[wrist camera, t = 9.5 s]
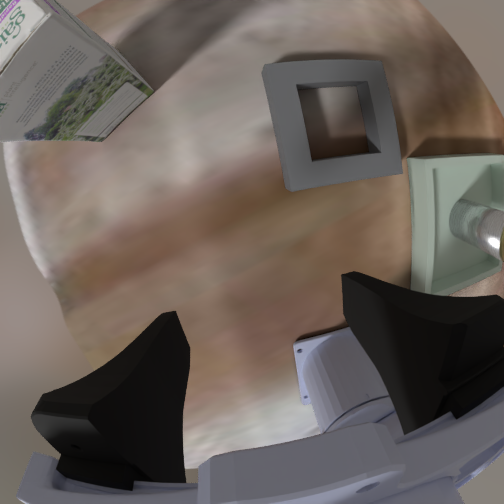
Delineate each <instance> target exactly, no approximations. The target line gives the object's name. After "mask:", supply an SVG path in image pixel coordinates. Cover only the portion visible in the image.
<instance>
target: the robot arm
mask: <svg viewBox="0 0 504 504" xmlns="http://www.w3.org/2000/svg"><path fill="white" fill-rule="evenodd" d="M341 277H342V293H343V314H344V316H345V318H346V321H347V323H348V325H349V327H348V328H344V329H341V330H337V331H334V332H330V333H326V334H323V335H319V336H315V337H311V338H307V339H303V340H299V341H296V342H295V343H294V344H293V348H294V354H295V360H296V367H297V374H298V380H299V387H300V394H301V401H302V404H303V405H307V404H312V407H313V410H314V413H315V416H316V420H317V423H318V426H319V429H320V432H321V434H319V435H315V436H311V437H307V438H303V439H299V440H294V441H290V442H285V443H280V444H275V445H270V446H264V447H258V448H252V449H245V450H237V451H232V452H228V453H224V454H219V455H215V456H213V457H211V458H209V459H208V460H207V461H205V462H204V463H203V464H201V465H200V466H199V472H198V483H186V477H185V467H184V455H183V409H184V401H185V395H186V389H187V382H188V376H189V369H190V346H189V344H188V341H187V339H186V336H185V334H184V331H183V329H182V326H181V324H180V321H179V318H178V316H177V313H176V311H171V312H166V313H162V314H161V315H160V316H158V317H157V318H156V319H155V320H154V321H153V322H152V323H151V324H150V325H149V326H148V327H147V328H146V329H145V330H144V331H143V332H142V333H141V334H140V335H139V336H138V337H137V338H136V339H135V340H134V341H133V342H132V343H130V344H129V345H128V346H127V347H126V348H125V349H124V350H123V351H122V352H120V353H119V354H118V355H117V356H115V357H114V358H113V359H112V360H110V361H109V362H107V363H106V364H105V365H103V366H102V367H100V368H98V369H97V370H95V371H94V372H92V373H90V374H89V375H87V376H85V377H83V378H81V379H80V380H77V381H75V382H73V383H71V384H69V385H67V386H64V387H62V388H59V389H56V390H53V391H51V392H48V393H45V394H43V395H42V396H41V398H40V400H39V402H38V403H37V405H36V407H35V409H34V411H33V412H32V415H31V419H32V422H33V424H34V426H35V428H36V429H37V431H38V432H39V433H40V434H41V435H42V436H43V437H44V438H45V439H46V440H47V441H48V442H49V443H50V444H51V445H52V446H53V447H54V448H55V449H56V450H57V451H58V452H59V453H61V457H60V459H59V460H57V459H56V458H54V457H52V456H48V455H45V454H41V453H38V452H33V454H32V456H31V458H30V460H29V463H28V465H27V468H26V470H25V473H24V475H23V478H22V481H21V483H20V486H19V489H18V492H17V495H16V497H17V498H18V499H19V500H20V501H22V502H23V503H25V504H464V502H463V500H462V498H461V496H460V494H459V492H458V490H457V489H458V488H460V487H461V486H463V485H464V484H465V483H467V482H468V481H469V480H471V479H472V478H474V477H475V476H476V475H478V474H479V473H480V472H481V471H483V470H484V469H485V468H486V467H488V466H489V465H490V464H491V463H492V462H493V461H495V460H496V459H497V458H498V457H499V456H500V455H502V454H503V453H504V347H503V345H504V299H503V298H501V297H500V296H498V295H489V296H478V297H452V296H441V295H433V294H427V293H422V292H418V291H413V290H409V289H406V288H403V287H399V286H396V285H393V284H390V283H387V282H384V281H382V280H379V279H376V278H373V277H371V276H368V275H365V274H362V273H359V272H355V271H353V272H349V273H346V274H342V275H341ZM298 349H301V350H300V351H297V350H298Z"/></svg>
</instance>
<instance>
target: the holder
mask: <svg viewBox="0 0 504 504" xmlns="http://www.w3.org/2000/svg"><path fill="white" fill-rule="evenodd" d="M262 77H263V81H264V85H265V90H266V94H267V99H268V103H269V108H270V112H271V117H272V122H273V126H274V131H275V136H276V141H277V146H278V151H279V156H280V161H281V166H282V171H283V177H284V182H285V188H286V189H288V190H289V191H291V192H292V191H297V190H303V189H308V188H314V187H319V186H325V185H331V184H337V183H343V182H349V181H356V180H362V179H369V178H376V177H383V176H390V175H397V174H403V170H402V161H401V153H400V146H399V139H398V133H397V127H396V121H395V116H394V111H393V106H392V101H391V96H390V92H389V88H388V83H387V79H386V75H385V72H384V68H383V64H382V61H376V60H348V59H335V60H306V61H292V62H281V63H272V64H265V65H264V68H263V70H262ZM349 86H356V87H357V91H358V95H359V100H360V105H361V109H362V114H363V119H364V125H365V130H366V136H367V142H368V148H369V153H360V154H352V155H344V156H336V157H329V158H322V159H316V160H311V154H310V149H309V143H308V138H307V133H306V128H305V123H304V118H303V114H302V109H301V104H300V100H299V95H298V91H297V90H301V89H312V88H326V87H349Z"/></svg>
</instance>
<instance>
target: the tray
mask: <svg viewBox="0 0 504 504" xmlns="http://www.w3.org/2000/svg"><path fill="white" fill-rule="evenodd" d="M407 163H408V172H409V183H410V197H411V217H412V266H411V286H410V290H413V291H418V292H422V293H427V294H433V295H441V296H447V295H449V294H452V293H454V292H456V291H459V290H461V289H463V288H466V287H468V286H470V285H472V284H474V283H477V282H479V281H481V280H483V279H485V278H487V277H489V276H491V275H493V274H495V273H497V272H499V271H501V268H502V262H503V261H501V260H499V259H497V258H495V257H493V256H492V255H490V254H488V253H486V252H484V251H482V250H480V249H478V248H476V247H474V246H472V245H470V244H468V243H466V242H464V241H462V240H460V239H458V238H456V237H454V236H453V235H452V233H451V231H450V228H449V216H450V212H451V209H452V207H453V206H454V204H455V203H456V202H457V201H458V200H460V199H466V200H470V201H473V202H476V203H479V204H483V205H486V206H489V207H492V208H495V209H498V210H501V211H504V155H502V154H494V153H472V154H451V155H435V156H422V157H410V158H407Z"/></svg>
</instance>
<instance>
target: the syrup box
mask: <svg viewBox="0 0 504 504" xmlns="http://www.w3.org/2000/svg"><path fill="white" fill-rule="evenodd" d="M153 92H154V90H153V89H152V88H151V87H150V85H149V84H148V83H147V82H146V81H145V80H144V79H143V78H142V76H141V75H140V74H139V73H138V72H137V71H136V70H135V69H134V68H133V67H132V66H131V64H130V63H129V62H128V61H127V60H126V59H125V58H124V57H123V56H122V55H121V54H120V53H119V52H118V50H116V49H115V48H114V47H113V46H111V45H110V44H109V43H108V42H106V41H105V40H104V39H102V38H101V37H100V36H99V35H97V34H96V33H95V32H94V31H92V30H91V29H90V28H89V27H88V26H87V25H85V24H84V23H83V22H82V21H81V20H80V19H78V18H77V17H76V16H75V15H73V14H72V13H71V12H70V11H69V10H67V9H66V8H65V7H64V6H63V5H61V4H60V3H59V2H57V1H56V0H0V142H14V141H45V140H48V141H93V142H102V141H103V140H104V139H105V138H106V137H107V136H108V135H109V134H110V133H111V132H112V131H113V130H114V129H115V128H116V127H117V126H118V125H119V124H120V123H121V122H122V121H123V120H124V119H125V118H126V117H127V116H128V115H129V114H130V113H131V112H132V111H133V110H134V109H135V108H137V107H138V106H139V105H140V104H141V103H142V102H143V101H144V100H146V99H147V98H148V97H149V96H150V95H151V94H152V93H153Z"/></svg>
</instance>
